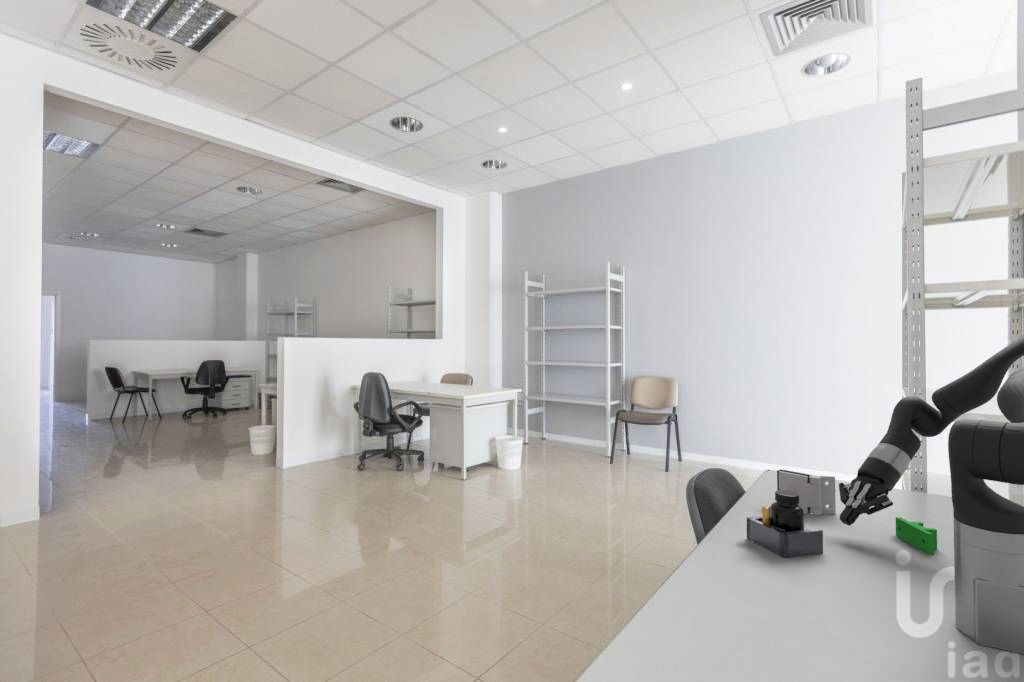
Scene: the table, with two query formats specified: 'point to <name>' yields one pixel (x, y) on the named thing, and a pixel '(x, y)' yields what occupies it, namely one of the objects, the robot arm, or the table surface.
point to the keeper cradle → (783, 537)
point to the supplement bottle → (786, 512)
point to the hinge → (809, 490)
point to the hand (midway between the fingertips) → (844, 522)
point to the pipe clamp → (917, 535)
